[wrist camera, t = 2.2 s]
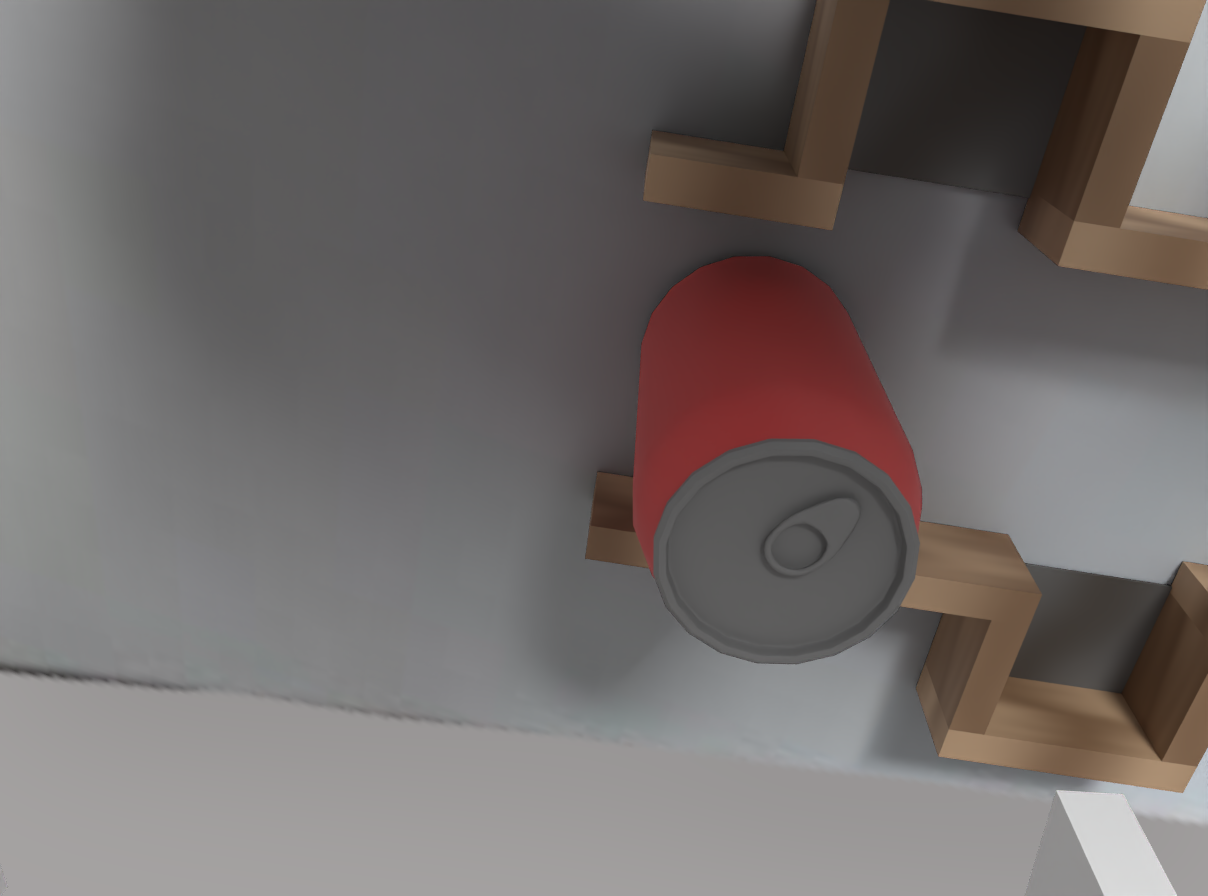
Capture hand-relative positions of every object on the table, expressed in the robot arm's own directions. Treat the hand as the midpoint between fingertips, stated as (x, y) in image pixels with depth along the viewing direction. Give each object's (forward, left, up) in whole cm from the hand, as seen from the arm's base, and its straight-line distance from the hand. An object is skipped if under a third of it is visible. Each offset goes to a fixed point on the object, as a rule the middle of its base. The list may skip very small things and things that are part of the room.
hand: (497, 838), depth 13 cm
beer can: (+5, +1, -22) cm, 22 cm away
